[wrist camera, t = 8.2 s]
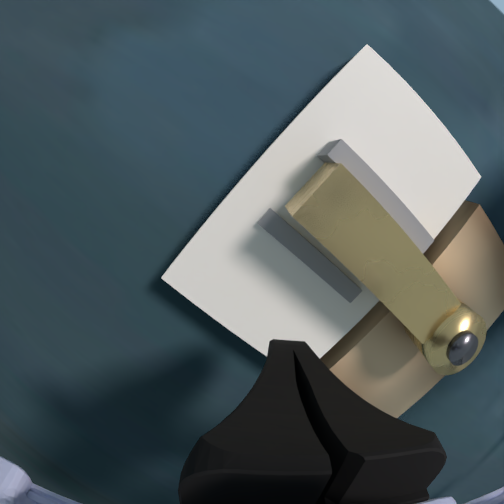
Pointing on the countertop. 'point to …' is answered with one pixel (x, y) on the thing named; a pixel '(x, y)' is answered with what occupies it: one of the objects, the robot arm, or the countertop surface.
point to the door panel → (296, 236)
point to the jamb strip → (392, 329)
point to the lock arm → (389, 266)
